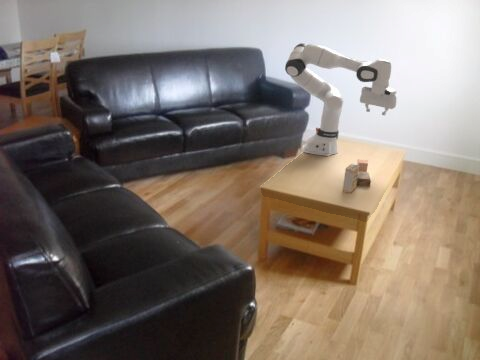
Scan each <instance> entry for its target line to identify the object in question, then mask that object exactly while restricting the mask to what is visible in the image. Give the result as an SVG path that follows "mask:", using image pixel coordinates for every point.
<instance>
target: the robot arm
mask: <svg viewBox="0 0 480 360" xmlns="http://www.w3.org/2000/svg"><path fill="white" fill-rule="evenodd" d="M308 65H314V66H316V67H320V68H321V69H327V70H331V69H335V68H336V69H337V68H343V69H346V70H349V71H352V72H355V73H356V79H357V80H358V81H360V82H361V83H372V84H371V87H370V86H363V87H362V88H361V95H360V98H359V102H360V103H361V104H365V105H364V106H365V108H366V109H365V110H366V112H367V113H369V112H370V111H371V108H370V107H369V106H376V107H380V108H384V111H382V112H381V115H382V116H386V113H387V111H389V110H393V109H395V108H396V105H397V96H396V94H397V90H396V89H394V88H392V87H390V85H389V81H390V78H391V73H392V64H391V62H390V61H389V60H387V59H384V58H378V59H377V60H374V61H370V60H358V59H354V58H351V57H348V56H345V55H343V54H341V53H339V52H337V51H335V50H333V49H331V48H329V47H326V46H323V45H319V44H316V43H308V44H306V43H303V42H302V43H299V44H297V45H295V47H294V48H293V50H292V51H291V52H290V55H289V57H288V59H287V61H286V62H285V66H284V67H285V69H284V70H285V72H286V73H287V75H289V76H290V77H291V79H292V80H293V81H294V82H295V83H296V84H297V85H298V86H299V87H300V88H301V89H303V90H304V91H305V92H308V94H310V95H312V96H313V97H315V98H317V99H318V100H320V101H322V103H323V107H322V114H321V117H320V127H315V131H316V132H315V133H314V134H313V135H312V136H310V137H308V139H307V140H306V142H305V144H303V145H302V147H301V150H302V151H303V153H305V154H312V155H318V156H319V155H320V156H325V157H330V156H332V155H336V154H338V152H339V150H338V138H339V133H340V131H339V126H340V119H341V115H342V110H343V104H344V98H343V95H342V93H341V92H340V90H339V89H338V88H336V87H335V86H333V85H332V84H331V83H329V82H327V81H326V80H324V79H323V78H321V77H320V76H319V75H317V74H316V73H315V72H313V71H312V70H311V69H309V68H308Z"/></svg>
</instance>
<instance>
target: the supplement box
mask: <svg viewBox="0 0 480 360" xmlns="http://www.w3.org/2000/svg"><path fill="white" fill-rule="evenodd" d="M358 172H359V166H358V165H357V164H354V163H350V164H348V166H347V167H346V168H345V172H344V178H343V185H342V192H344V193H346V194H347V193H348V194H351V193H352V192H353V191H354V190H356V188H357V185H356V184H357V178H358Z"/></svg>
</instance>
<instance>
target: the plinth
mask: <svg viewBox="0 0 480 360" xmlns="http://www.w3.org/2000/svg"><path fill="white" fill-rule="evenodd" d="M371 182H372V180H371V177H370V173H369V172H368V171H367V172H361V171H359V172H358V178H357V184H356V186H359V187H360V186H361V187H371Z"/></svg>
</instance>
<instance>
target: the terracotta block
mask: <svg viewBox="0 0 480 360" xmlns="http://www.w3.org/2000/svg"><path fill="white" fill-rule="evenodd" d="M356 165H358V166H359V171H361V172H368V165H369V162H368V160H367V159H366V160H365V159H357V163H356Z"/></svg>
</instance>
